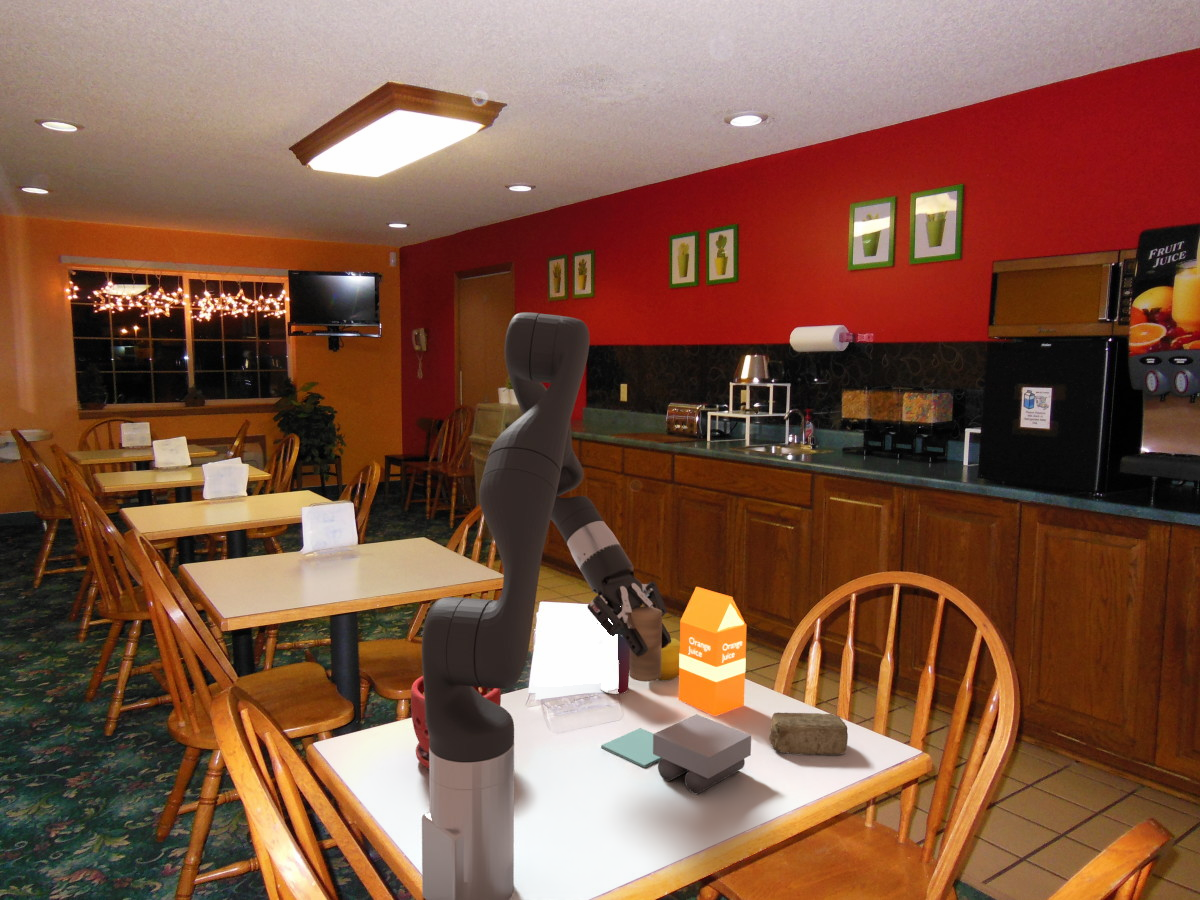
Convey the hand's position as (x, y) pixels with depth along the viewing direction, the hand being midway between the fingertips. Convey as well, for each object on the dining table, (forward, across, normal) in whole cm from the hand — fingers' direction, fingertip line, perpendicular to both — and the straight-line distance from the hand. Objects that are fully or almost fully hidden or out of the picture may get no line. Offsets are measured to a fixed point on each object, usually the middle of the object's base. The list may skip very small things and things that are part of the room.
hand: (655, 648), depth 124 cm
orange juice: (+8, +22, +16) cm, 29 cm away
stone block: (+23, +19, +1) cm, 30 cm away
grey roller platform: (+18, 0, +5) cm, 19 cm away
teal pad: (+10, 0, +13) cm, 17 cm away
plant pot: (-1, -23, +25) cm, 34 cm away
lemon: (-1, +24, +26) cm, 35 cm away
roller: (+2, 0, +5) cm, 5 cm away
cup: (-3, +14, +28) cm, 31 cm away
